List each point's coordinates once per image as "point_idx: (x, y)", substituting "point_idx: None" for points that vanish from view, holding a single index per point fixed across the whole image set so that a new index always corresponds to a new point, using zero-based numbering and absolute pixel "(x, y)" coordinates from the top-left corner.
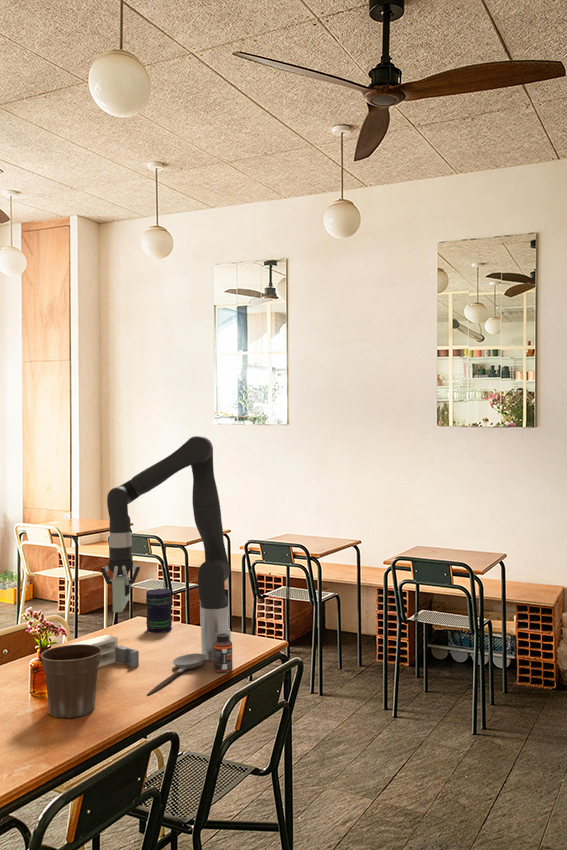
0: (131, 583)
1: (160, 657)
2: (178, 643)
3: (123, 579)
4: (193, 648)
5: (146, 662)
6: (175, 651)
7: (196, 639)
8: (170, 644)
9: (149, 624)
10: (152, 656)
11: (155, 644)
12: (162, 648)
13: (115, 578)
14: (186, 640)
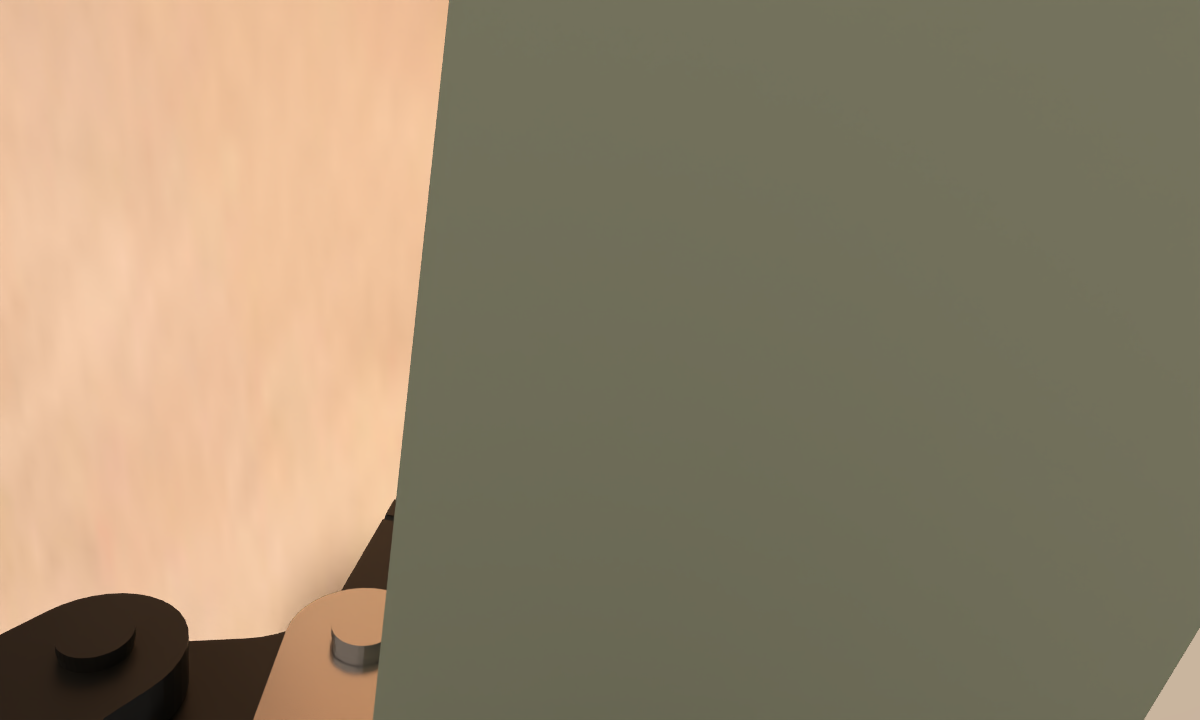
0: (205, 641)
1: (319, 120)
2: (185, 459)
3: (442, 250)
4: (54, 284)
5: (443, 5)
6: (197, 253)
7: (54, 509)
8: (246, 456)
9: None
10: (388, 178)
11: (362, 497)
12: (306, 375)
13: (1129, 597)
14: (129, 511)
